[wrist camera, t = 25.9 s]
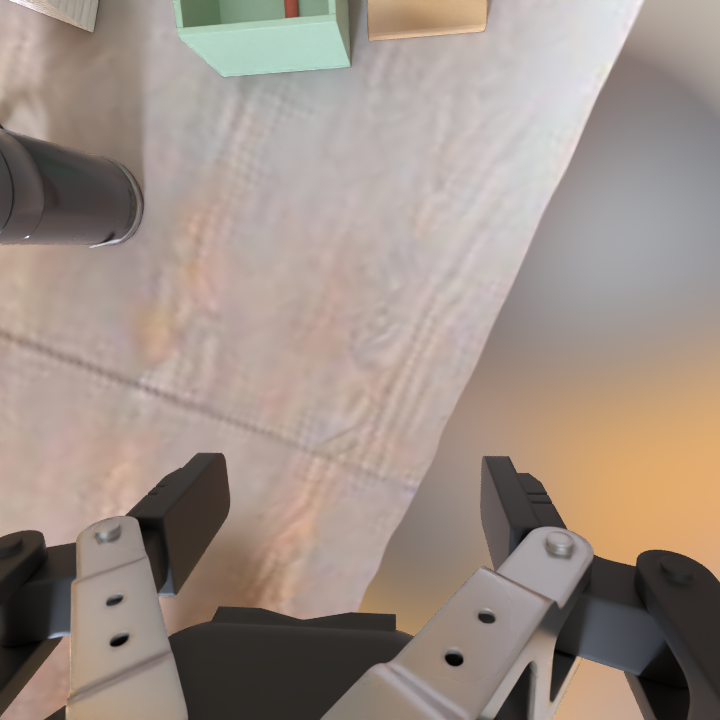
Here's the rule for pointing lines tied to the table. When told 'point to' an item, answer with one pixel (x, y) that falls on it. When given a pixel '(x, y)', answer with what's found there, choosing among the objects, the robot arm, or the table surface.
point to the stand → (424, 18)
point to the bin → (265, 35)
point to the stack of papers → (66, 10)
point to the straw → (291, 8)
